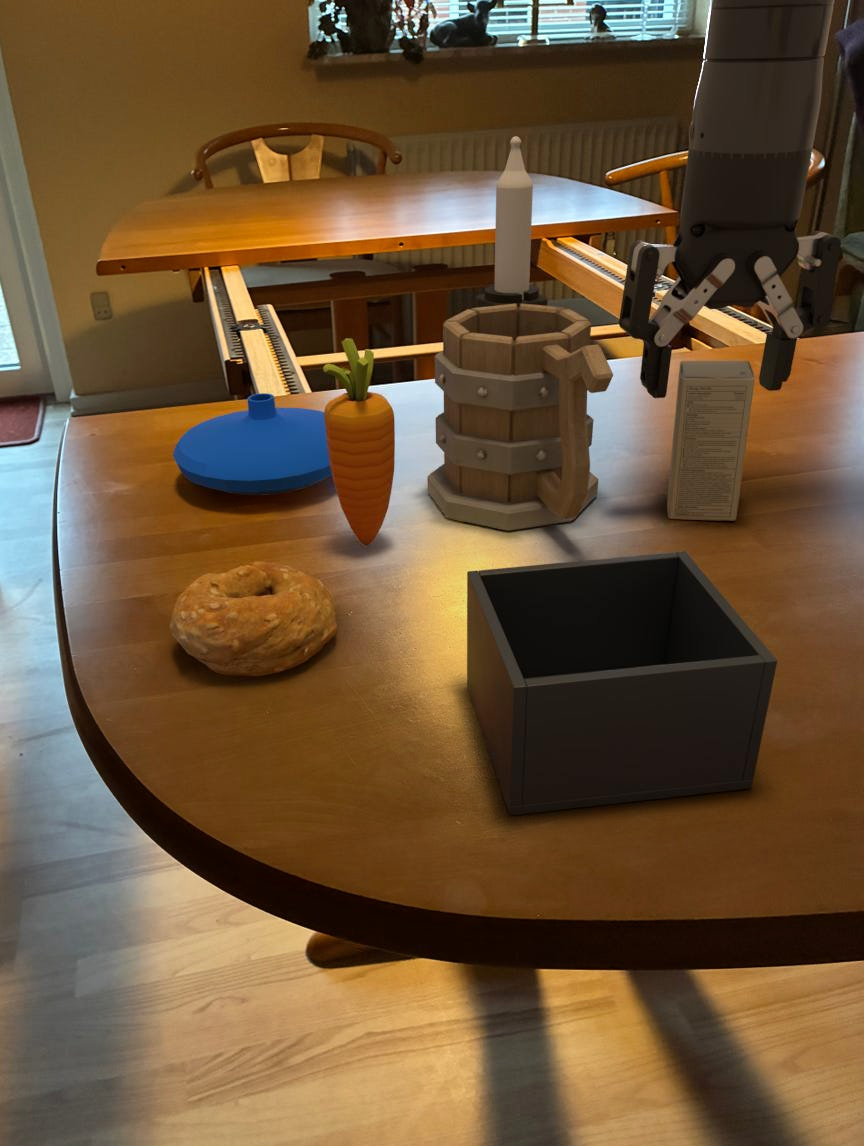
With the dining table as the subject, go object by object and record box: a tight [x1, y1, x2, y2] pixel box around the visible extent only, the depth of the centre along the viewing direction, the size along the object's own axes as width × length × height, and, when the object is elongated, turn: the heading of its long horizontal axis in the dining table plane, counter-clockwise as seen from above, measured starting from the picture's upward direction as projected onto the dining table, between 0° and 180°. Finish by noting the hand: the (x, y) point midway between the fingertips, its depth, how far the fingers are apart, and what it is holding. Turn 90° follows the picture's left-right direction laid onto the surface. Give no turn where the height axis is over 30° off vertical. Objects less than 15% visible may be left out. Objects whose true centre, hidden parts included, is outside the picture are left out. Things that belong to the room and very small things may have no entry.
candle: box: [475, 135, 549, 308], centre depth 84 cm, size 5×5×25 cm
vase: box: [172, 392, 333, 496], centre depth 83 cm, size 16×16×7 cm
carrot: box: [322, 338, 396, 547], centre depth 69 cm, size 5×5×15 cm
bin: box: [466, 550, 778, 816], centre depth 51 cm, size 12×11×8 cm
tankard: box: [426, 304, 614, 532], centre depth 73 cm, size 20×13×15 cm, turn 14°
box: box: [666, 360, 756, 522], centre depth 73 cm, size 5×4×11 cm
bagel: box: [169, 561, 338, 677], centre depth 61 cm, size 10×11×5 cm
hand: (713, 391), depth 71 cm, fingers open, 8 cm apart
